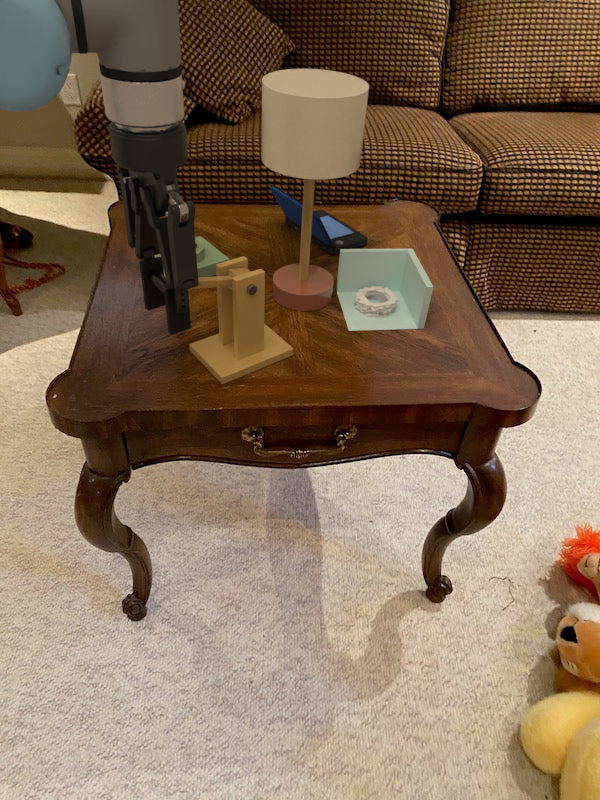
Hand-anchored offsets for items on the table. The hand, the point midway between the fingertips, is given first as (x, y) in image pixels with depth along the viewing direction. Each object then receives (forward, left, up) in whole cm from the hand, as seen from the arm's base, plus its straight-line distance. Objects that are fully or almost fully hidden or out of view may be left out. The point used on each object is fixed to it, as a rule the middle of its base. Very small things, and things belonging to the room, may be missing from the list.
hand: (167, 317), depth 73 cm
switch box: (+16, +26, -10) cm, 32 cm away
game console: (+43, +23, -10) cm, 50 cm away
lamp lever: (+5, 0, +2) cm, 6 cm away
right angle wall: (+36, -2, -10) cm, 37 cm away
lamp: (+28, +8, -10) cm, 31 cm away
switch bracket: (+11, 0, -10) cm, 15 cm away
